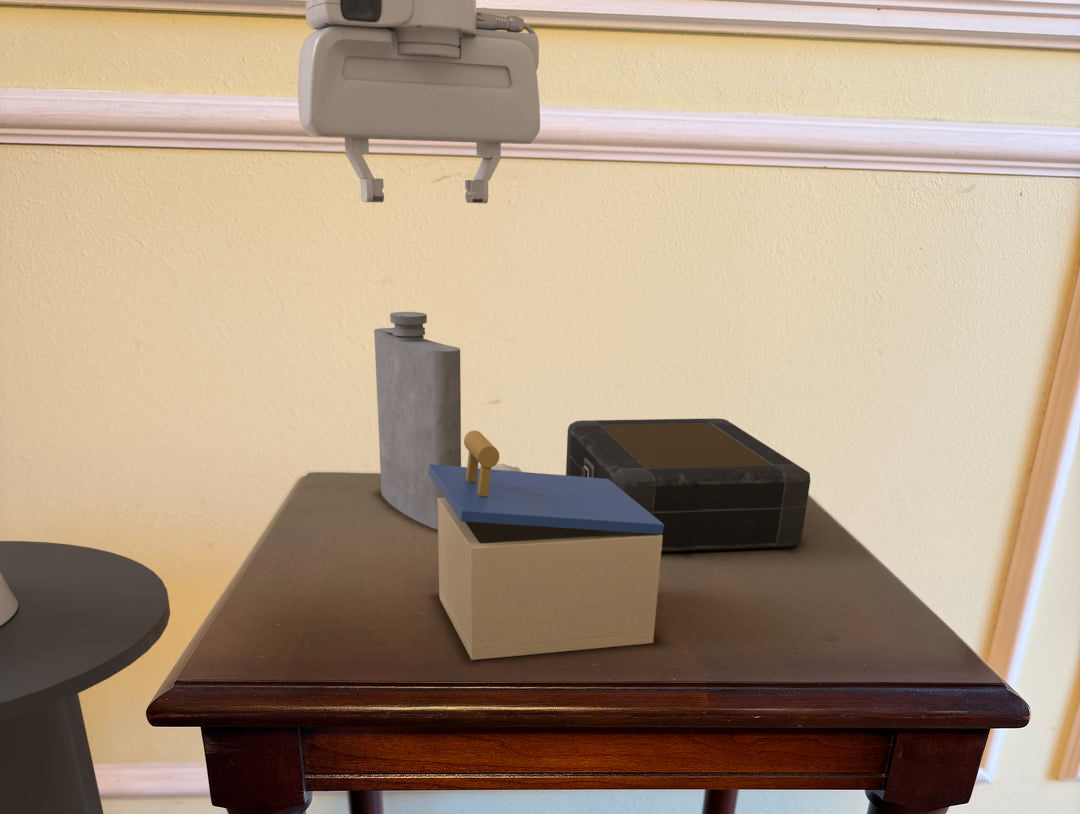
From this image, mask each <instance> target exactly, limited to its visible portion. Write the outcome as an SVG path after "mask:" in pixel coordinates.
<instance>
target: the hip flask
mask: <svg viewBox="0 0 1080 814" xmlns="http://www.w3.org/2000/svg"><path fill="white" fill-rule="evenodd" d="M427 318H428V315H427V313H425V312H417V311H396V312H390V313H389V319H390V320H389V321H390V323H391V324H394V327H380V328H375V329H374V330H373V334H374V337H373V338H374V355H375V356H374V357H375V358H374V359H375V377H376V379H375V381H376V399H377V401H376V402H377V422H378V423H377V424H378V444H379V448H378V449H379V469H380V470H379V471H380V489H381V490H380V492H381V496H382V498H383V499H384V500H385V501H386V502H387V503H388V504H389V505H391V506H392V507H393V508H394V509H396V511H398V512H400V513H402V514H403V515H405V516H406V517H408V518H410V519H411V520H413V521H416V522H418V523H420V524H421V525H423V526H426V527H429V528H431V529H433V530H436V531H438V498H442V497H444V496H443V494H442V493H441V491H440V490H439V489H438V487H437V486H436V484H435V483H434V481H433V480H432V478H431V477H430V475H429V474H428V470H429V464H432V465H444V466H456V467H462V409H461V408H462V404H461V403H462V402H461V401H462V399H461V397H462V395H461V384H462V383H461V380H462V379H461V348H460V347H457V346H454V345H448V344H444V343H439V342H437V341H434V340H433V341H432V340H429V339H426V338H424V337H425V335H426V328H425V327H424V325H425V324H427V323H428V319H427Z"/></svg>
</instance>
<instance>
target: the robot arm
mask: <svg viewBox="0 0 1080 814" xmlns="http://www.w3.org/2000/svg"><path fill="white" fill-rule="evenodd" d="M304 10H305V12H304V13H305V19H306V23H307V26H308V27H309V28H310V29H311V30H313V31H314V32H313V31H312V32H311V33H310V34H309V35H308V36H307V37H305V39H304V41H303V43H302V45H301V48H300V52H299V60H298V75H297V76H298V77H297V78H298V79H297V87H298V88H297V99H298V102H297V105H298V116H299V123H300V125H301V127H303V129H304V131H305V132H306V133H307V134H308V136H309V137H311V138H313V137H314V138H332V139H333V138H334V139H335V138H337V139H344V151H345V152H344V153H345V156H346V158H347V159H348V162H349V163H350V165H351V167H352V168H353V170H354V172H355V174H356V175H357V177H358V178H359V181H360V197H361V201H362V202H363V203H384V200H385V193H384V192H383V189H384V178H376V177H375V176H374V175H373V173H372V171H371V169H370V167H369V165H368V163H367V162H366V159H365V158H364V156H363V155H369V153H370V144H369V143H370V141H369V140H391V141H392V140H393V141H422V142H447V143H448V142H451V143H475V144H476V158H478V159H480V158H481V159H482V160H481V162H480V164H479V167H478V169H477V171H476V173H475V175H474V177H473V179H465V182H464V189H465V190H466V192H465V197H464V198H465V202H466V203H467V204H487V203H488V201H489V181H490V180H491V179H492V177H493V175H494V173H495V171H496V170H497V169H496V168H497V167H498V165H499V162H500V160H501V159H502V158H501V148H502V144H504V145H505V144H506V145H507V144H509V145H531V144H532V143H533V142H534V141H535V139H536V138H537V137H538V135H539V133H540V131H541V107H540V93H539V84H538V76H537V75H538V74H537V72H538V68H539V63H540V59H539V58H540V41H539V38H538V35H537V33H536V32H535V29H533V28H532V27H531V26H530V25H529V24H528V23H526V22H525V20H524V18H522V17H520V16H517V15H507V16H501V15H497V14H494V13H485V12H477V0H306V2H305V7H304ZM524 30H525V31H527V32H523V31H524ZM17 608H18V601H17V599H16V598H15V596H14V595H13V593H12V591H11V590H10V588H9V586H8V585H7V583H6V581H5V579H4V578H3V576H2V574H1V572H0V626H1V625H2V624H4V623H5V622H7V621H8V620H9V619H10V618H11V617H12V616H13V615H14V614H15V612H16V611H17Z"/></svg>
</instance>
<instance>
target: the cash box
mask: <svg viewBox="0 0 1080 814" xmlns="http://www.w3.org/2000/svg"><path fill="white" fill-rule="evenodd" d="M566 437H567V439H566V459H565V460H566V461H565V463H566V464H565V468H566V469H565V475H566V476H578V477H590V478H602V479H609V480H610V481H611V482H612V483H614V484H615V485H616V486H617V487H619V488H620V489H621V490H622V491H624V492H625V493H626V494H627V495H628V496H630V497H631V498H632V499H633V500H635V501H636V502H637V503H638V504H639V505H641V506H642V507H643V508H644V509H646V510H647V511H648V512H649V513H651V514H652V515H653V516H654V517H655V518H657V519H658V520H659V521H660V522H662V523H663V524H664V528H663V533H662V534H661V535H663V538H662V549H661V554H664V553H684V552H685V553H686V552H687V553H688V552H712V551H732V550H733V551H735V550H736V551H737V550H760V549H761V550H762V549H782V548H783V549H785V548H790V547H791V548H792V547H794V546H798V545H801V541H802V538H803V531H804V525H805V519H806V513H807V512H806V511H807V504H808V499H809V493H810V486H811V473H810V472H809V471H807V470H806V469H804V468H803V467H801V466H800V465H798V464H797V463H795V462H793V461H792V460H790V459H789V458H787V457H785V456H784V455H782V454H781V453H779V452H778V451H777V450H775V449H773V448H771V447H770V446H769V445H767V444H765V443H764V442H762V441H760V440H759V439H757V438H755V436H753V435H751V434H749V433H748V432H746V431H745V430H743V429H742V428H740V427H738V426H737V425H735V424H733V422H730V421H729V420H727V419H725V418H656V419H652V418H651V419H650V418H649V419H646V418H645V419H595V420H594V419H591V420H589V419H588V420H575V421H573V422H572V423H570V424H569V425H568V428H567V435H566Z"/></svg>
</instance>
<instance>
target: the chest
mask: <svg viewBox="0 0 1080 814" xmlns="http://www.w3.org/2000/svg"><path fill="white" fill-rule="evenodd" d="M437 537H438V538H437V542H438V543H437V544H438V547H437V548H438V589H439V591H438V592H439V593H438V595H439V596H438V597H439V599H440V602H441V604H442V606H443V608H444V610H445V612H446V614H447V616H448V617H449V619H450V622H451V623H452V625H453V627H454V629H455V631H456V633H457V635H458V637H459V639H460V641H461V643H462V645H463V646H464V648H465V650H466V653H467V654H468V656H469V658H470V660H471V661H476V660H486V659H499V658H508V657H510V658H511V657H521V656H530V655H531V656H532V655H540V654H550V653H551V654H552V653H562V652H563V653H564V652H572V651H582V650H593V649H605V648H615V647H626V646H636V645H637V646H638V645H647V644H654V640H655V639H654V637H655V625H656V615H657V605H658V604H657V603H658V594H659V593H658V592H659V582H660V572H661V571H660V570H661V559H662V553H661V549H662V538H663V535H661V534H646V533H631V532H616V531H600V530H585V529H570V528H554V527H539V526H523V525H508V524H493V523H477V522H462V521H460V519H459V518H458V516H457V515H456V513H455V512H454V510H453V509H452V507H451V506H450V505H449V503H448V502H447V500H446V499H445V497H442V498H438V530H437Z"/></svg>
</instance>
